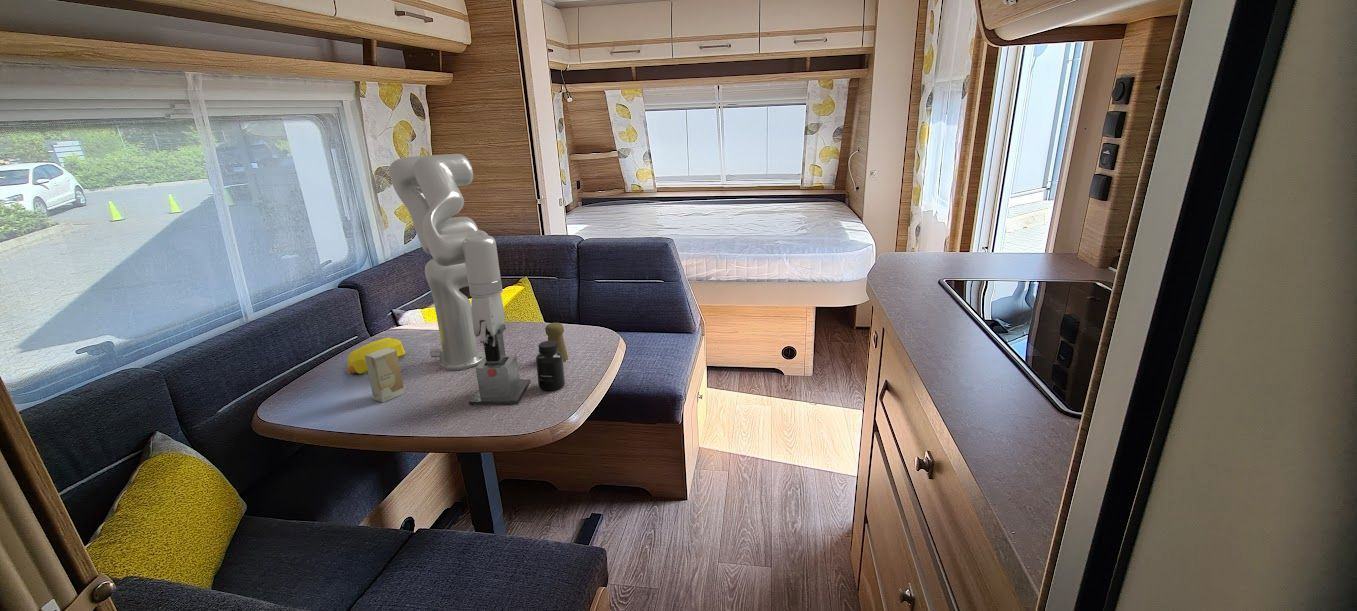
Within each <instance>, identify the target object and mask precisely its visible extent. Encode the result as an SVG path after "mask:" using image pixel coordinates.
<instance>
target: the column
mask: <svg viewBox="0 0 1357 611" xmlns="http://www.w3.org/2000/svg"><path fill="white" fill-rule="evenodd" d="M506 329H507V328H506V324H505V323H504V324H502V325H501V326H500V327H499V329H498V332H497V333H496V334H495V339H496V346H498V352H499V358H500V360H499V361H493V362H487V366H492V365H504V364H505V362H506V356H505V355H506V350H505V349H504V348H505V342H503V341H504V334H503V335H502V332H503V333H504V331H505V330H506ZM487 334H491V333H490V332H487ZM487 338H488V339H491V340H492V337H487Z"/></svg>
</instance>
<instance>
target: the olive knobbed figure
mask: <svg viewBox="0 0 1357 611" xmlns="http://www.w3.org/2000/svg"><path fill="white" fill-rule="evenodd" d="M544 330H545V331H544V332H545V334H546V336H547V341H555V342H557V343H558V351H559V352H561V354H562V356H563V363H565V362H567V361H568V360H569V355H568V352H567V347H566V344H565V340H564V336H563V334H564V332H565V330H564V326H563V324H562V323H561V322H551V323H548V324H547V325H546V326H545V328H544ZM566 360H567V361H566Z"/></svg>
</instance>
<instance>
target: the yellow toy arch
mask: <svg viewBox="0 0 1357 611" xmlns="http://www.w3.org/2000/svg"><path fill="white" fill-rule="evenodd" d="M385 348H391V349H394V350H396V351H397V356H398V360H399V359H402V358H403V357H404V356H405V355H406V354H407V353H406V351H405V347H404V346H403V343H402V341H401V340H399V339H397V338H391V337H389V336H388V337H384V338H382V339H381V338H380V339H378V340H376V341H372V342H369V343H367V344H365V345H363V346H362V345H361V347H359V348H356V349H354V350H352V351H350V353H349V354H348V356H347V372H348V373H349V374H351V375H353V374H354V375H355V374H357V373H358V374H359V375H365V374H368V369H367V364H366V359H365V355H367V354H370V353H373V352H375V351H378V350H382V349H385Z"/></svg>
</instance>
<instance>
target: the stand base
mask: <svg viewBox="0 0 1357 611" xmlns="http://www.w3.org/2000/svg"><path fill="white" fill-rule="evenodd" d="M505 356H506V362H505V364H504V365H492V366H487V361H486V356H485V358H484V359H483V360H482V361H481V362H480V364H478V365H476V366H475V372H476V373H475V374H476V379H477V384H478V386H477V387H478V390H476V392H475V393H474V394H473V396H472V397H471V398H470V400H469V401H468V405H469V406H495V405H496V406H497V405H499V406H501V405H504V406H505V405H507V406H508V405H519V403H520V402H521V400H522V398H523V396H524V395H525V393H526V391H527V390H528V388H529V386H530V385H529V384H531V379H528V378H525V379H523V378H521V379H520V373H519V365H518V364H519V363H518V357H517V354H505ZM526 389H527V390H526Z"/></svg>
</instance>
